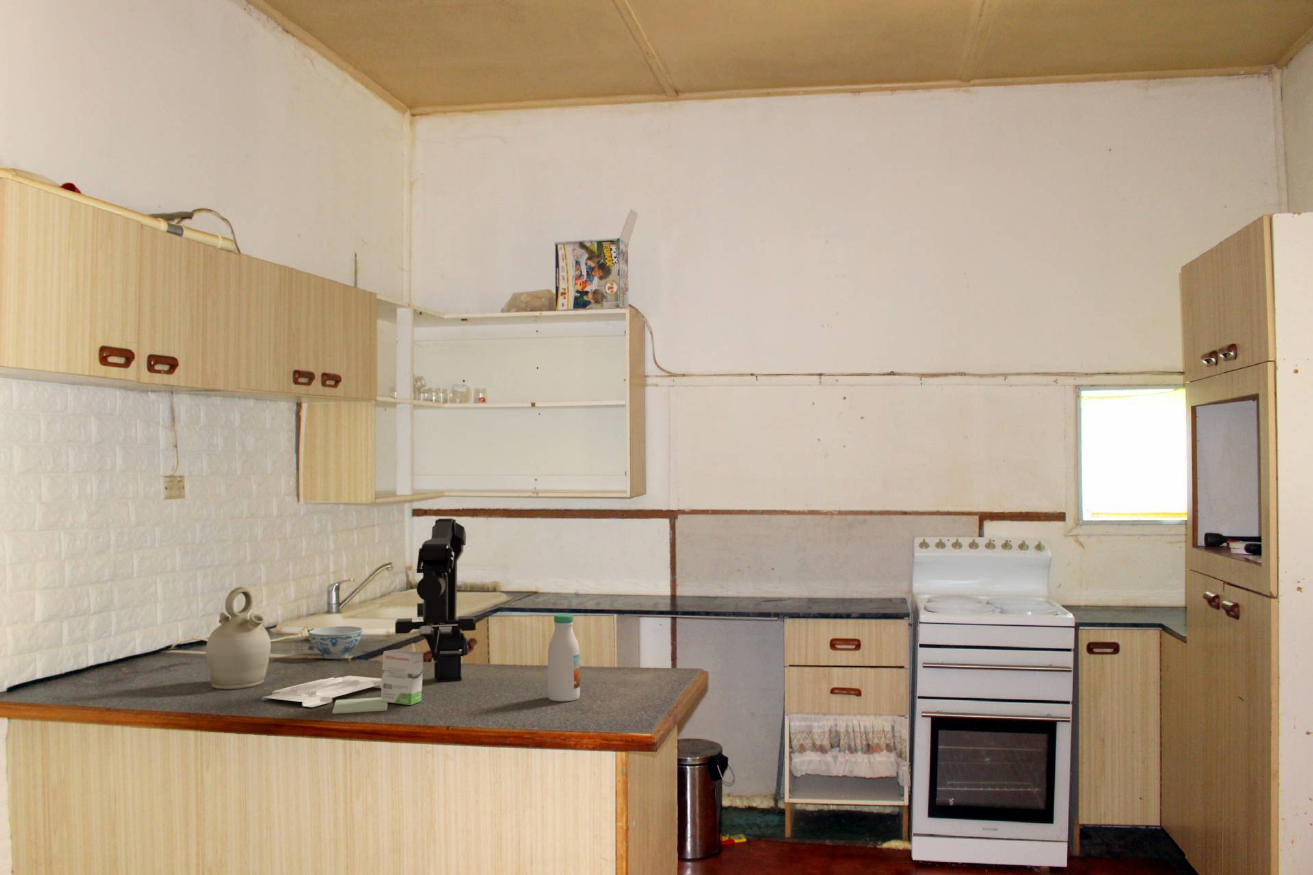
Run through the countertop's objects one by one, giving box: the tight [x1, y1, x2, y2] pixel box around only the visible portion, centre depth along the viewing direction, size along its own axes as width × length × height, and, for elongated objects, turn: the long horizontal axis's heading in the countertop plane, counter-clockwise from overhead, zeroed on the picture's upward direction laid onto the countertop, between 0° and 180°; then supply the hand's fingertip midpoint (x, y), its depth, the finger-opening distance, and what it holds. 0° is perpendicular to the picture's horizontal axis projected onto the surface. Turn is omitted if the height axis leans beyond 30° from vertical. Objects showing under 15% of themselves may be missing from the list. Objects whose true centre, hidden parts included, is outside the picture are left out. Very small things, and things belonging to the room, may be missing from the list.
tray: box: [261, 675, 382, 708], centre depth 245 cm, size 20×28×4 cm
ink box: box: [380, 649, 424, 706], centre depth 234 cm, size 9×5×12 cm, turn 70°
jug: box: [205, 586, 272, 690], centre depth 256 cm, size 15×16×25 cm
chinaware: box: [309, 625, 363, 659], centre depth 293 cm, size 15×15×8 cm
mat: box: [331, 696, 389, 715], centre depth 231 cm, size 12×12×1 cm
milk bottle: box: [547, 613, 581, 702], centre depth 238 cm, size 8×8×20 cm
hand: (435, 660), depth 236 cm, fingers closed
